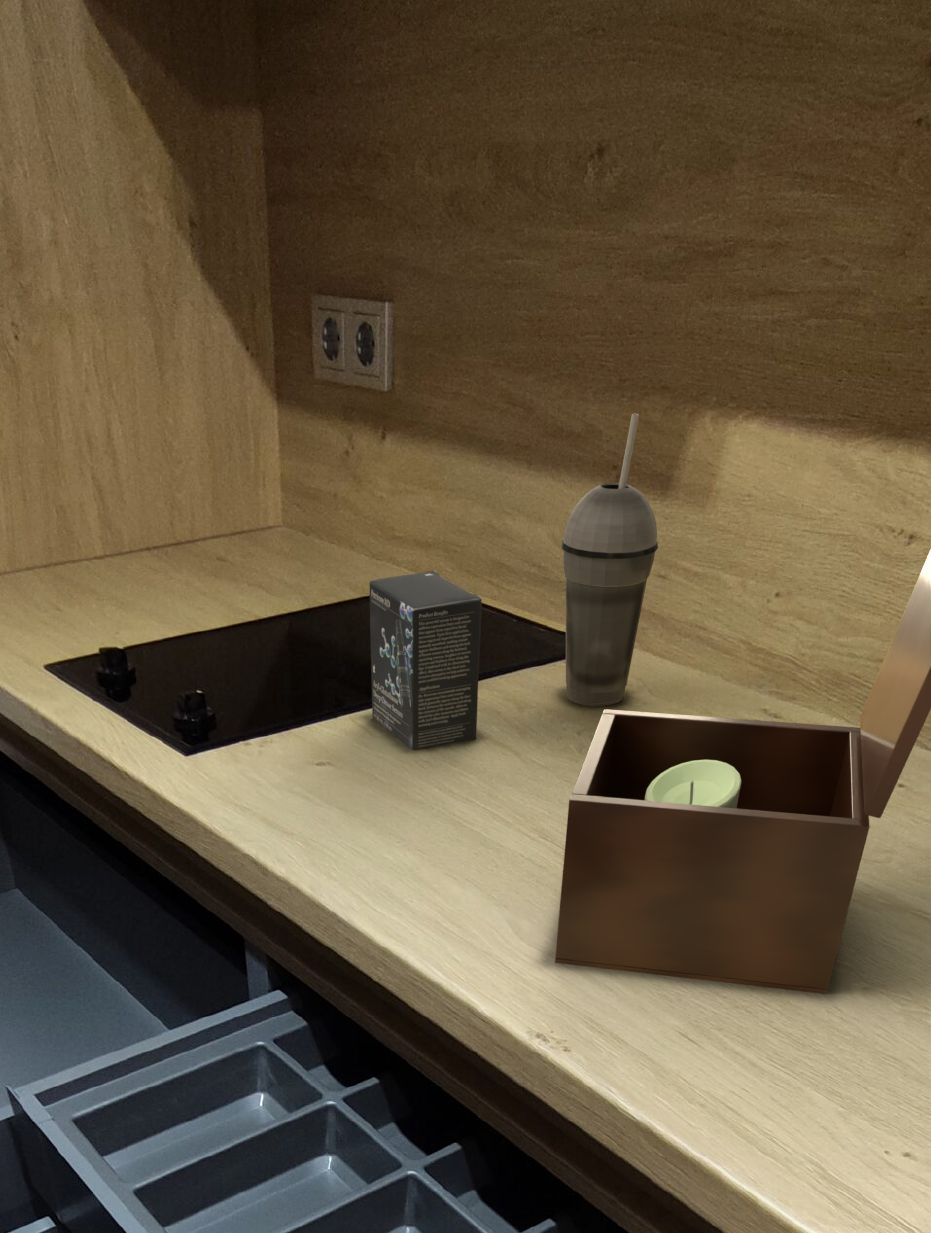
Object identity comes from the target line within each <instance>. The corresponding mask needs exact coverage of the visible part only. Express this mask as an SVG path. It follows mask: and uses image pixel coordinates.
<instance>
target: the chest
mask: <svg viewBox="0 0 931 1233" xmlns="http://www.w3.org/2000/svg"><path fill="white" fill-rule="evenodd" d="M695 760H717V761H721V762H724V763H727V764H729V765H731V766H733V767H734V768H735V769H736V770H737V772H738V773H739V774H740V777H741V786H740V792H739V797H738V803H737V808H725V807H714V806H702V805H691V804H679V803H668V802H656V801H645V795H646V791H647V788H648V787H649V785H650V784H651V782H652V781H653V780H654V779H655V778H656V777H657V776H659V775H660V774H661V773H663V772H664V771H666V770H668V769H669V768H671V767H674V766H676V765H679V764H682V763H686V762H690V761H695ZM870 828H871V827H870V816H868V815H865V809H864V789H863V768H862V748H861V727H855V726H842V725H828V724H817V723H815V724H814V723H802V722H788V721H787V722H786V721H775V720H774V721H772V720H759V719H747V718H745V719H744V718H731V717H718V716H706V715H705V716H704V715H692V714H691V715H689V714H676V713H663V712H661V713H660V712H647V711H635V710H620V709H608V708H606V709H603V711H602V713H601V717H600V719H599V722H598V724H597V727H596V730H595V732H594V734H593V738H592V740H591V743H590V745H589V748H588V750H587V753H586V755H585V759H584V761H583V763H582V766H581V768H580V772H579V774H578V777H577V778H576V781H575V785H574V787H573V790H572V792H571V795H570V797H569V800H568V811H567V821H566V831H565V832H566V833H565V841H564V842H565V844H564V853H563V854H564V855H563V865H562V878H561V886H560V889H561V890H560V898H559V899H560V900H559V910H558V911H559V912H558V922H557V933H556V946H555V956H554V963H555V964H562V965H570V966H578V967H589V968H596V969H603V970H613V971H621V972H631V973H639V974H648V975H656V976H665V977H674V978H681V979H682V978H683V979H692V980H699V981H706V982H707V981H709V982H717V983H724V984H726V983H727V984H734V985H742V986H751V987H761V988H767V989H768V988H769V989H777V990H786V991H795V992H804V993H810V994H811V993H812V994H813V993H814V994H820V995H827V993H828V989H829V985H830V982H831V978H832V974H833V971H834V966H835V963H836V958H837V954H838V950H839V946H840V942H841V939H842V935H843V932H844V928H845V924H846V919H847V916H848V911H849V908H850V904H851V901H852V896H853V892H854V890H855V885H856V882H857V877H858V874H859V870H860V865H861V862H862V858H863V853H864V850H865V846H866V843H867V839H868V835H869V830H870Z"/></svg>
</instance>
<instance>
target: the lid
mask: <svg viewBox="0 0 931 1233" xmlns="http://www.w3.org/2000/svg"><path fill="white" fill-rule="evenodd" d="M867 696H868V697H867V699H866V701H865V703H864V706H863V707H862V711H861V713H860V716H859V725H860V727H859V728H861V748H862V768H863V789H864V809H865V815H868V816H869V817H873V818H876V819H881V818H882V816H883V814H884V812H885V809H886V807H887V806H888V803H889V801H890V799H891V796H892V795H893V792H894V790H895V788H896V786H897V783H898V781H899V779H900V777H901V775H902V773H903V771H904V768H905V766H906V764H907V762H908V759H909V757H910V755H911V753H912V751H913V749H914V747H915V744H916V742H917V740H918V739H919V736H920V733H921V731H922V729H923V727H924V725H925V723H926V721H927V719H928V716H929V714H930V713H931V712H930V711H931V549H930V550H929V552H928V554H927V557H926V559H925V562H924V564H923V566H922V568H921V571H920V573H919V575H918V578H917V580H916V583H915V585H914V587H913V590H912V592H911V594H910V597H909V599H908V602H907V604H906V607H905V609H904V610H903V613H902V616H901V618H900V620H899V623H898V624H897V628H896V630H895V632H894V635H893V637H892V639H891V642H890V644H889V647H888V649H887V651H886V653H885V655H884V658H883V661H882V663H881V666H880V668H879V670H878V673H877V675H876V677H875V680H874V682H873V684H872V687H871V689H870V691H869V694H868V695H867Z"/></svg>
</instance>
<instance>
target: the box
mask: <svg viewBox="0 0 931 1233" xmlns="http://www.w3.org/2000/svg"><path fill="white" fill-rule="evenodd" d="M482 602H483V600H482V597H480V596H479V595H477V594H476V593H472V592H470V591H469V590H467V589H465V588H463V587H461V586H459V585H457V584H456V583H453V582H452V581H451V580H448V579H446V578H444V576H442V575H440V574H439V573H438V572H436V571H435V570H429V571H424V572H417V573H410V574H403V575H396V576H388V577H383V578H378V579H373V580H370V581H369V629H370V631H369V633H370V670H371V672H370V673H371V713H372V714H371V719H372V720H373V721H374V722H376V724H378V725H380V726H381V727H382V728H384V729H385V730H386V731H388V733H390V734H391V735H392V736H394V737H395V738H396V739H397V740H399V741H400V742H402V743H403V744H404V745H405V746H406V747H407V748H408V749H410V751H419V750H424V749H429V748H434V747H440V746H445V745H451V744H457V743H461V742H468V741H473V740H476V739H477V728H478V727H477V726H478V704H479V703H478V699H479V673H480V650H481V649H480V648H481V626H482V625H481V624H482V623H481V622H482Z"/></svg>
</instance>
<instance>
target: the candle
mask: <svg viewBox="0 0 931 1233" xmlns="http://www.w3.org/2000/svg"><path fill="white" fill-rule="evenodd" d="M740 786H741V777H740V774H739V773H738V772H737V770H736V769H735V768H734V767H733V766H731V765H729V764H727V763H724V762H721V761H717V760H695V761H690V762H686V763H682V764H679V765H676V766H674V767H671V768H669V769H668V770H666V771H664V772H663V773H661V774H660V775H659V776H657V777H656V778H655V779H654V780H653V781H652V782H651V784H650V785H649V787H648V788H647V791H646V795H645V801H656V802H668V803H679V804H691V805H702V806H714V807H725V808H737V803H738V797H739V792H740Z"/></svg>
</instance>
